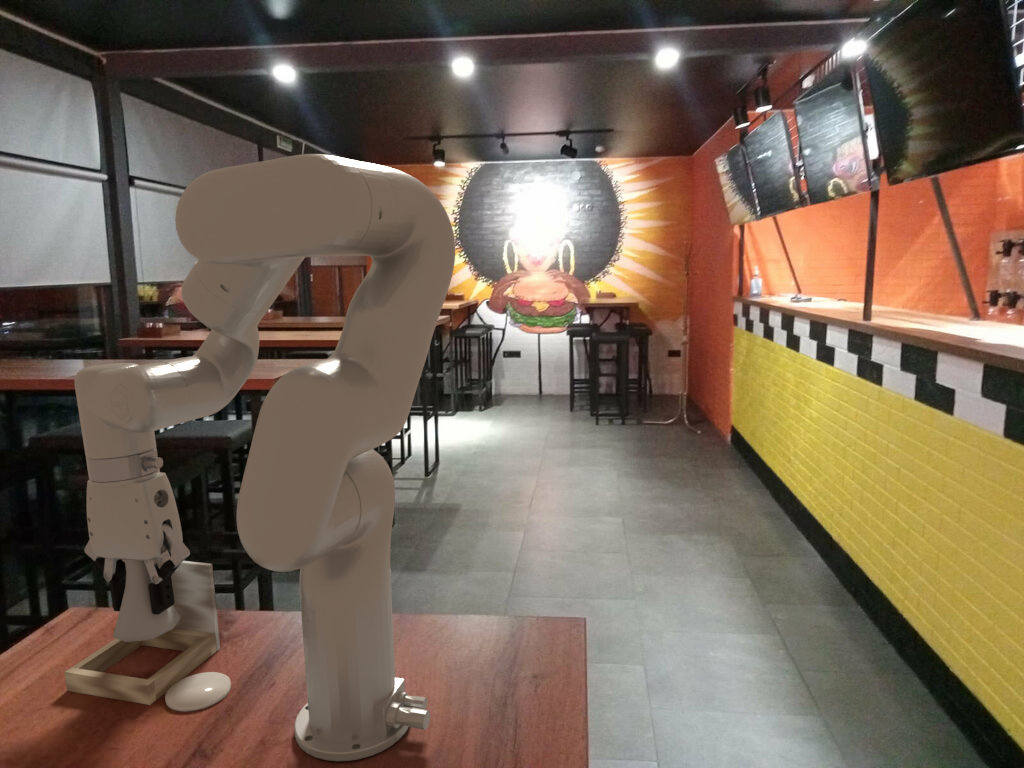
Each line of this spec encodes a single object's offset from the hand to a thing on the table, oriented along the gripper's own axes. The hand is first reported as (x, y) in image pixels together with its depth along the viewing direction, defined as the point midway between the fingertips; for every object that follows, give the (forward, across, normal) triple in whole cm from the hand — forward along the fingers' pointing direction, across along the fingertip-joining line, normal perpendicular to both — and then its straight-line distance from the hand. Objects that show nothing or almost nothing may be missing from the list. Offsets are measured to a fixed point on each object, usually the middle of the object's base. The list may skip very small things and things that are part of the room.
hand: (144, 606), depth 89 cm
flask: (+3, 0, 0) cm, 3 cm away
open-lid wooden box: (+9, +2, 0) cm, 9 cm away
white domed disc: (+9, -8, +2) cm, 13 cm away
